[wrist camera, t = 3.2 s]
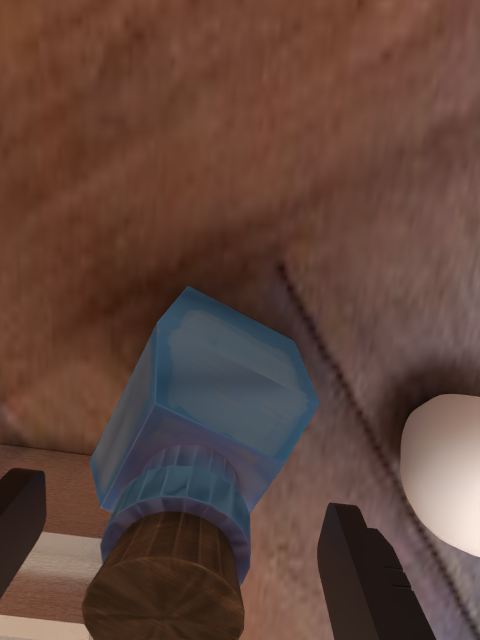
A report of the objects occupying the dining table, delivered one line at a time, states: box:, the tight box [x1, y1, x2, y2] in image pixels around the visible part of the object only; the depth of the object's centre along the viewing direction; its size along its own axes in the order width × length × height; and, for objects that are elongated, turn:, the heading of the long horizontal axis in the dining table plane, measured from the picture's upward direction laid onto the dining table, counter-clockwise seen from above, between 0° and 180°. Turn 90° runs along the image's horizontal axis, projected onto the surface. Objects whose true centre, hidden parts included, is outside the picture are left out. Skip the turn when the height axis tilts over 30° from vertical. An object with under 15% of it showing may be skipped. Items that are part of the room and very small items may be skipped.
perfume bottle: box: [81, 286, 320, 640], centre depth 12 cm, size 6×6×12 cm
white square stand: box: [0, 444, 112, 640], centre depth 18 cm, size 14×14×8 cm
